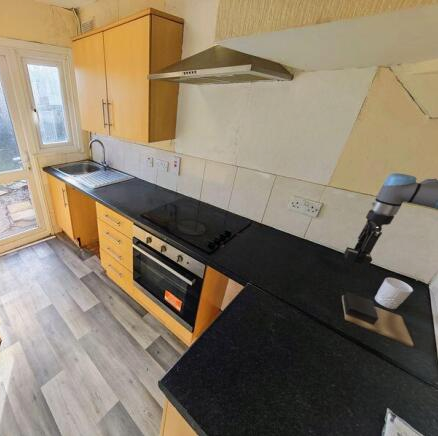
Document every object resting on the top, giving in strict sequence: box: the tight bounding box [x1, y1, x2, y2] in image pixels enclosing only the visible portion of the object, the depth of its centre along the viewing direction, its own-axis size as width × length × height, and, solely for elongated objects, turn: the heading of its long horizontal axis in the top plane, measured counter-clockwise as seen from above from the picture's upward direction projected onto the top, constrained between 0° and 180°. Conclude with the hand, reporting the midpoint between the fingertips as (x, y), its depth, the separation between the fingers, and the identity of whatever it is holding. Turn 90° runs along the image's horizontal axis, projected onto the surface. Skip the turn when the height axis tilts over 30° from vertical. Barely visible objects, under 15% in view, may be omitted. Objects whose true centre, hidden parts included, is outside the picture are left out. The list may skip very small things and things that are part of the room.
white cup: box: [374, 277, 414, 310], centre depth 90 cm, size 8×8×10 cm
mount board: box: [341, 291, 415, 347], centre depth 84 cm, size 18×14×4 cm
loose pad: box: [343, 246, 373, 267], centre depth 101 cm, size 8×6×4 cm
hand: (355, 258), depth 101 cm, fingers closed on loose pad, 6 cm apart
